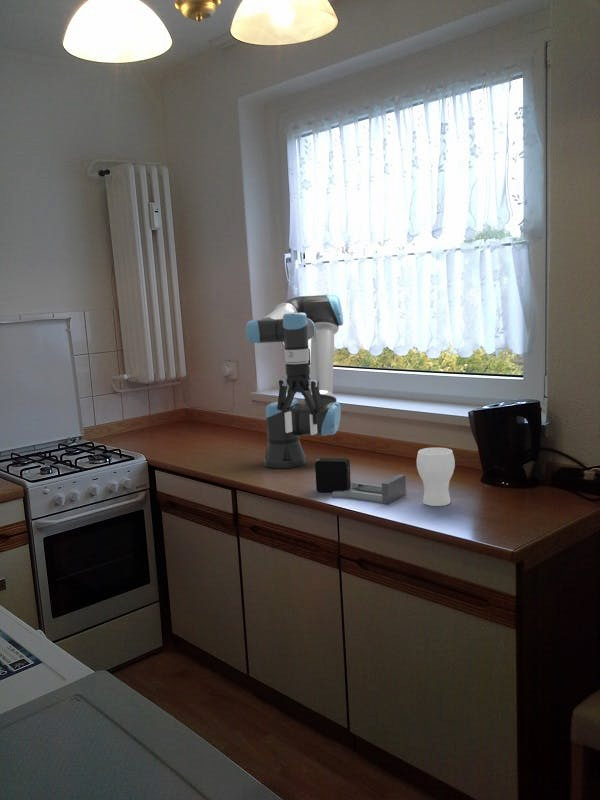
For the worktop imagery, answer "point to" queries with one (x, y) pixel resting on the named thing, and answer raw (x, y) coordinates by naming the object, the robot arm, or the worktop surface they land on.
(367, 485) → the coupler rail
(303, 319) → the robot arm
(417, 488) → the worktop surface
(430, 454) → the cup
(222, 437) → the worktop surface
